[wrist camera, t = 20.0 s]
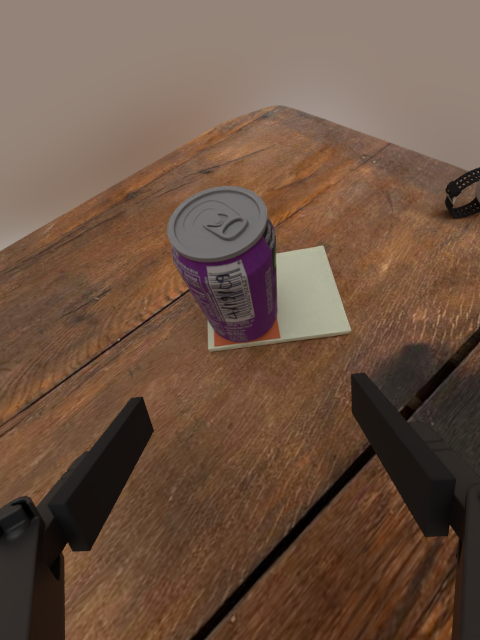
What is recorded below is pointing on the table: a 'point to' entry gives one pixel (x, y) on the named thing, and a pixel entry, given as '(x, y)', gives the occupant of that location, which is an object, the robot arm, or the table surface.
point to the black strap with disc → (454, 191)
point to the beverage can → (228, 259)
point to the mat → (299, 302)
